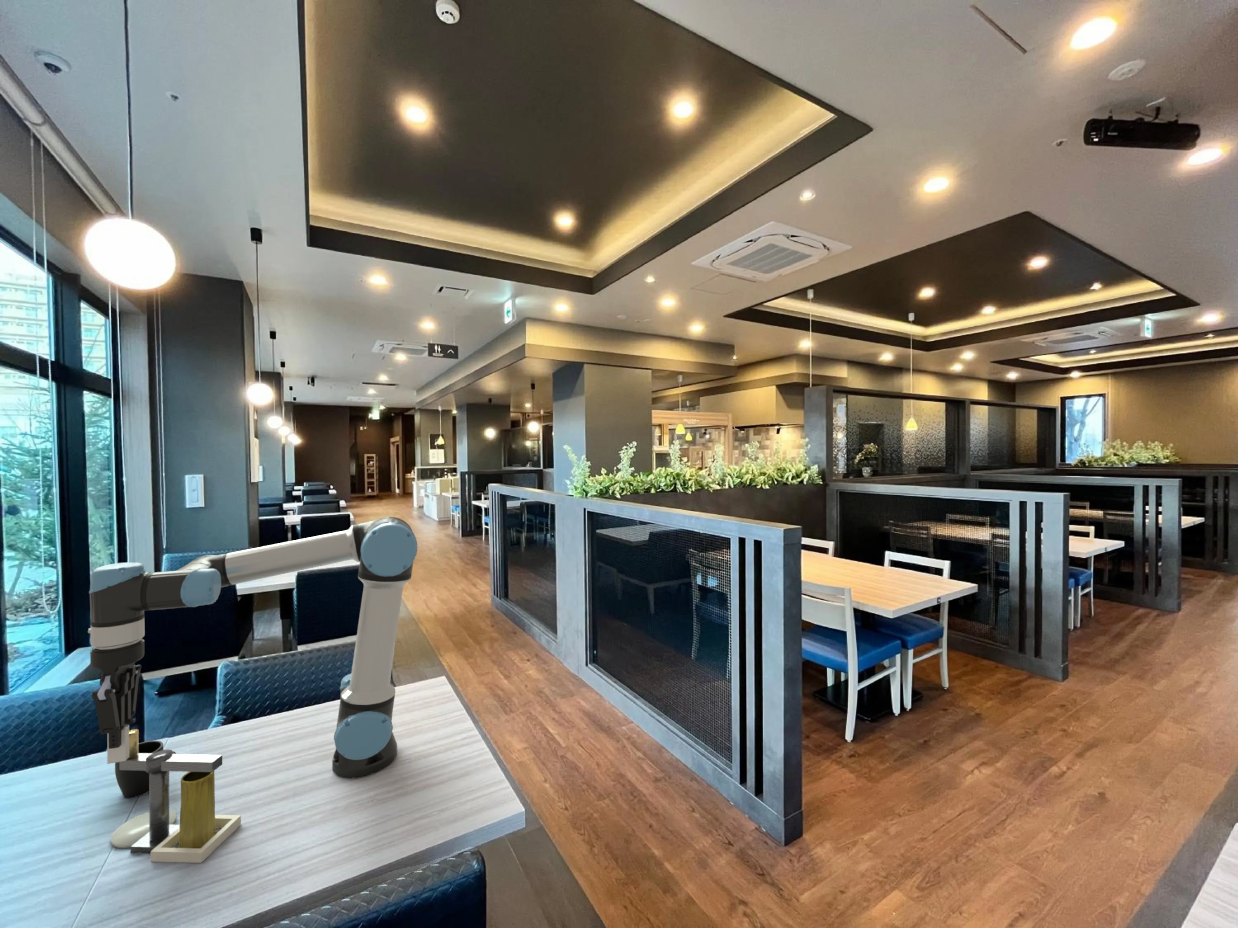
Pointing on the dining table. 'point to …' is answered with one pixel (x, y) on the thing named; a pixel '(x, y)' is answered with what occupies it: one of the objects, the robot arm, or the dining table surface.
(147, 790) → the mug
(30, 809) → the dining table surface
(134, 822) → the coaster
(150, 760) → the bar
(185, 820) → the vase
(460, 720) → the dining table surface
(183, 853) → the cream rectangular frame
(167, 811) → the post
